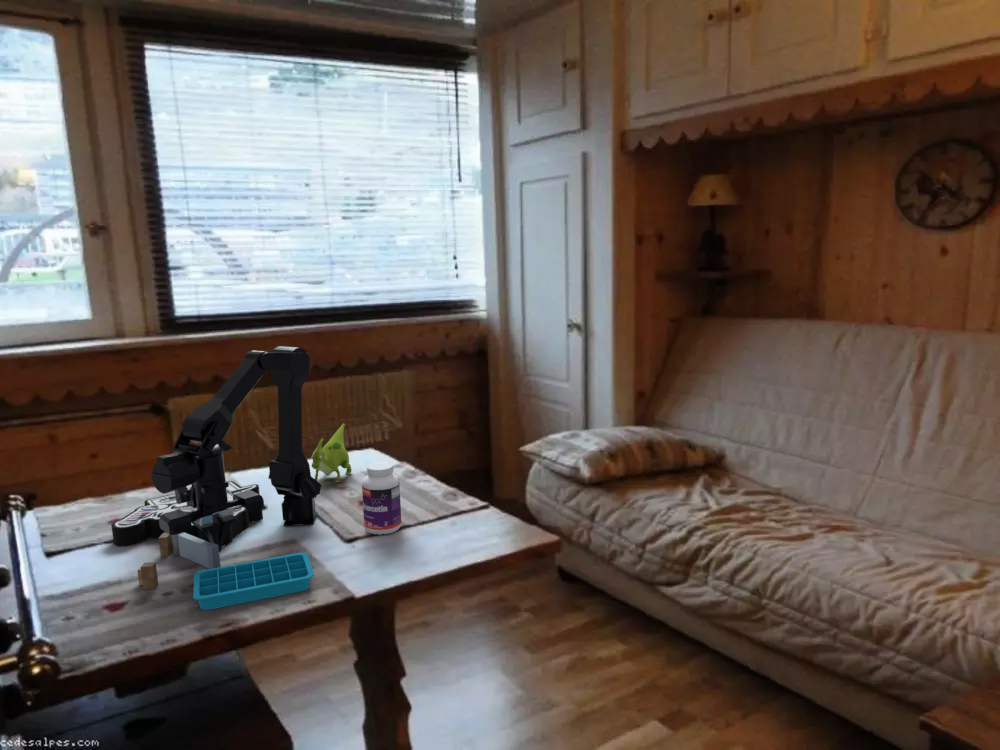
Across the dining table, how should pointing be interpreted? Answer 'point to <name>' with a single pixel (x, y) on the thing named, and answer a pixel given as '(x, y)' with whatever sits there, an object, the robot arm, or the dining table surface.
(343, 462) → the toy
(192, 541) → the pale blue flat bar
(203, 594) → the ice cube tray
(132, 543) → the decorative sign
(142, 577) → the wooden block
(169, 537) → the brown angular block
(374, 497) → the pill bottle
